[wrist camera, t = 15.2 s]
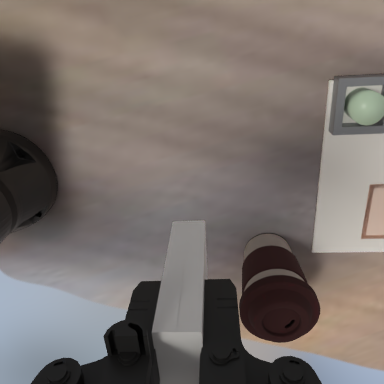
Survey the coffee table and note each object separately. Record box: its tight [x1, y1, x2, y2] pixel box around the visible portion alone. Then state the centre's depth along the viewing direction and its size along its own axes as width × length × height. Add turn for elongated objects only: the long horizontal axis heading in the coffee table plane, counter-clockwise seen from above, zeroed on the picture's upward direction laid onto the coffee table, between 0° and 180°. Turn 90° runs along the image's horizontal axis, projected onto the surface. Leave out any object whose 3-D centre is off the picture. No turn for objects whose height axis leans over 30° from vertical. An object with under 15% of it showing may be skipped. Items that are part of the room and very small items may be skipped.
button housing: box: [328, 74, 384, 135], centre depth 45 cm, size 7×7×2 cm
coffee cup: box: [239, 234, 320, 342], centre depth 50 cm, size 10×10×15 cm
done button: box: [344, 87, 384, 125], centre depth 44 cm, size 4×4×3 cm
